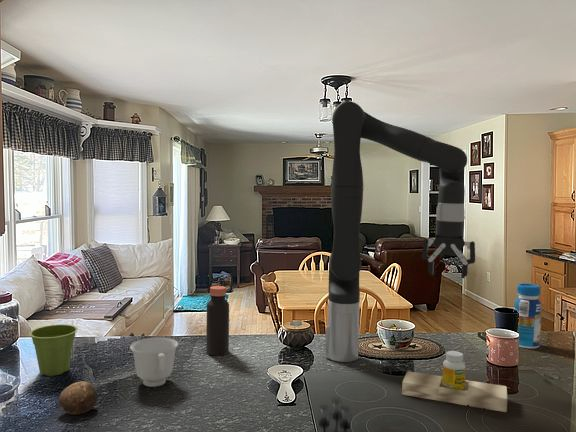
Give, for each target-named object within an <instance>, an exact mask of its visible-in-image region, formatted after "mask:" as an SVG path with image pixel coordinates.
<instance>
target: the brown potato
mask: <svg viewBox="0 0 576 432" xmlns="http://www.w3.org/2000/svg"><path fill="white" fill-rule="evenodd" d="M59 395H60V396H59V397H58V402H59V407H61V409H62V410H63V411H64V412H65V413H68V414H70V415H80V414H81V415H82V414H84V413H87V412H89V411H90V410H92V409H93V408H94V407H95V405H96V404H97V402H98V401H97V400H98V398H99V396H98V391H97V389H96V387H95V386H94V385H93V384H92V383H91V382H89V381H83V380H82V381H77V382H74V383H72V384H69V386H66V387H65V388H64V389H63V390H62V391H61V393H60V394H59Z"/></svg>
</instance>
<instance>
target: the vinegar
mask: <svg viewBox="0 0 576 432" xmlns="http://www.w3.org/2000/svg"><path fill="white" fill-rule="evenodd" d="M209 297H210V299H209V300H208V302H206V336H205V337H206V339H205V341H206V342H205V343H206V346H205V348H206V351H205V352H206V354H207V355H210V356H217V357H218V356H224V355H226V354H228V353H229V351H230V350H229V349H230V347H229V346H230V341H229V340H230V303H229V302H228V300H227V299H226V297H227V287H226V286H224V285H223V286H222V285H215V286H213V285H212V286H210V288H209Z"/></svg>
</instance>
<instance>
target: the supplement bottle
mask: <svg viewBox="0 0 576 432" xmlns="http://www.w3.org/2000/svg"><path fill="white" fill-rule="evenodd" d="M445 358H446V359H445V360H443V363H442V375H441V376H442V387H444V388H450V389H456V390H463V391H464V389H465V380H466V369H467V368H466V363H465V362H464V353H462V352H460V351H455V350H448V351H446V353H445Z"/></svg>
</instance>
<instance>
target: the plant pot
mask: <svg viewBox="0 0 576 432" xmlns="http://www.w3.org/2000/svg"><path fill="white" fill-rule="evenodd" d="M77 332H78V327H77V326H76V325H73V324H51V325H44V326H40V327H36V328H34V329H32V330H31V331H30V332H28V335H29V336H30V337H31V341H32V343H33V346H34V349H35V355H36V359H37V365H38V370H39V374H40V375H45V376H47V377H48V376H49V377H52V376H59V375H62V374H64V373H65V372H69V370H70V365H71V360H72V352H73V345H74V340H75V339H76V333H77Z"/></svg>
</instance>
